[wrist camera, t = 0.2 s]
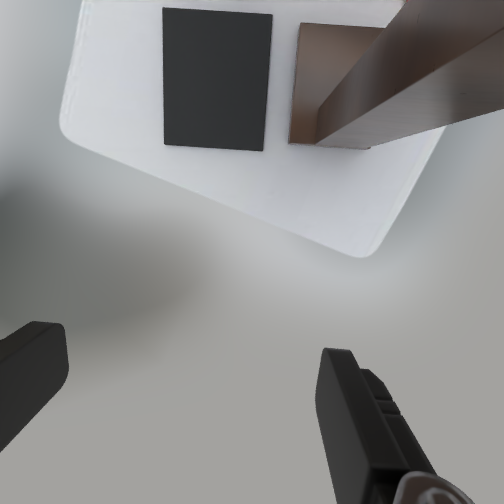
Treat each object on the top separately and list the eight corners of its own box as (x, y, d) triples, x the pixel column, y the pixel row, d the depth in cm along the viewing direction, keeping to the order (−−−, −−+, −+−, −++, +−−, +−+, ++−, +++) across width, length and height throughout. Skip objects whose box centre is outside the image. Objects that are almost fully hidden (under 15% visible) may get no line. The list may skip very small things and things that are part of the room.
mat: (163, 10, 31) (162, 6, 30) (272, 17, 31) (272, 14, 30) (165, 144, 35) (163, 144, 34) (262, 151, 34) (262, 150, 34)
